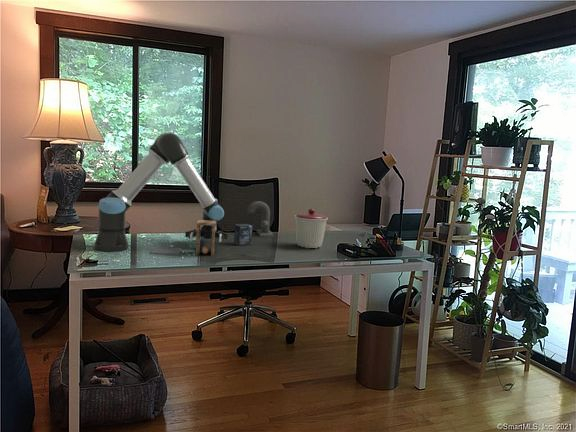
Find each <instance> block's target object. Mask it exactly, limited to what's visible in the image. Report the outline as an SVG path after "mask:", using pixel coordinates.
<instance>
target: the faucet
mask: <svg viewBox="0 0 576 432" xmlns="http://www.w3.org/2000/svg"><path fill="white" fill-rule="evenodd" d="M258 209H259V210H261V211H262V217H261V221H260V226H261V228H260V229H259V228H258V229H256V233H257V235H258V234H259V235H258V236H259V238H275V234H273V232H272V231H271V230H270V222H271V221H270V220H271V219H270V218H271V210H270V207H269V205H268V204H267V203H266V202H263V201H260V200H259V201H254V202H252V203H250V205H248V208H247V211H246V212H247V213H248V214H252V213H253V214H254V213H255V211H256V210H258Z"/></svg>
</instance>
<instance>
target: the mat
mask: <svg viewBox="0 0 576 432" xmlns="http://www.w3.org/2000/svg"><path fill="white" fill-rule="evenodd" d="M182 251H183V248H182V247H163V246H155V247H154V248H153V249H152V250H151V251H150V255H163V254H167V255H168V254H169V255H168V256H180V255H179V254H181V253H182Z"/></svg>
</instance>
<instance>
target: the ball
mask: <svg viewBox="0 0 576 432" xmlns="http://www.w3.org/2000/svg"><path fill="white" fill-rule="evenodd" d="M209 251H210V249H209V247H208V246H202V248H201V253H202V254H205V255H206V254H208V253H209Z"/></svg>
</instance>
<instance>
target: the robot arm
mask: <svg viewBox="0 0 576 432" xmlns="http://www.w3.org/2000/svg"><path fill="white" fill-rule="evenodd" d="M189 155H190V153H189V152H188V151H187V149H186V147H185V145H184V143H183V141H182V140H181V138H180V137H179V136H178V134H177V135H176V133H172V132H164V133H162V134H160V135H159V136H157V138H156V140H155V141H154V142H153V143H152V144H151V146H150V147H149V148H148V154H147V155H146V156H145V157H144V158H143V159H142V161H141V162H140V163H139V165H137V167H135V169H134V170H133V171H132V172H131V173H130V174H129V176H127V178H126V179H125V180H124V182H123V183H121V185H120V186H119V187H118V189H115V190H111V192H110V193H109V194H108V195H106V197H103V198H101V199H99V203H98V233H97V236H96V238H95V241H94V250H96V251H101V252H121V251H126V250H128V249H129V241H128V238H127V235H126V213H127V211H128V210H129V209H130V208H131V206H132V201H133V200H134V198H135V197H136V196H137V195H138V194H140V193H139V192H141V191H142V189H143V188H144V187H145V186H146V184H147V183H148V182H149V181H150V180H151V179H152V178H153V176H154V175H155V174H156V173H157V172H158V170H160V169H161V168H162V166H163V165H168V164H169V163H170V164H171V165H172V166H175V168H176V169H177V171H178V172H179V174H180V175H181V177H182V178H183V179H184V181H185V183H186V185H187V186H188V187H189V189H190V190H191V192H192V193H193V194H194V196H195V199H197V201H198V202H199V204H200V205H201V207H202V220H211V221H216V224H215V239H216V238H217V239H219V241H218V242H219V243H221V242H222V240H228V235H229V234H228V233H227V232H224V231H222V230H221V229H220V230H218V231H217V229H218V225H217V223H218V221H221V220H222V219H223V218H224V216H225V211H224V209H223V207H222V206H221V205H220V204H219V201H218V199H217V198H215V197H214V195H213V193H212V192H211V190H210V189H209V187H208V185H207V184H206V182H205V180H204V179H203V178H202V176H201V175H200V173H199V172H198V170H197V168H196V167H195V165H194V163H192V160H191V159H190V157H189ZM184 235H185V236H184V237H185V238H188V240H189V241H191V242H192V240H193V239H194V238H197V228H195V229H191V230H188V231H185V233H184ZM200 238H203V239H205V240H212V225H201V227H200Z"/></svg>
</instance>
